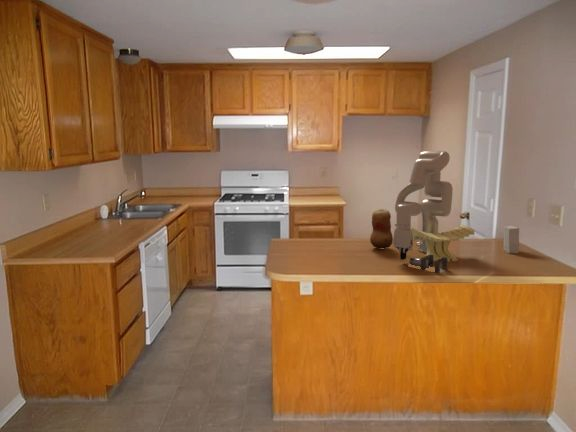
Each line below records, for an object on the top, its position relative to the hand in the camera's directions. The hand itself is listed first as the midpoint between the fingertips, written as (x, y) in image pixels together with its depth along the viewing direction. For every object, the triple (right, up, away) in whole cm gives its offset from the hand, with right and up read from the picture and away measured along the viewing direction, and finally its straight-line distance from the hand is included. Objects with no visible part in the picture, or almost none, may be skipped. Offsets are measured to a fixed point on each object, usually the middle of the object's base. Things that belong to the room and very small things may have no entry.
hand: (403, 259), depth 252 cm
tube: (+7, -3, -7) cm, 10 cm away
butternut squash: (-5, +3, +33) cm, 33 cm away
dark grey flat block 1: (+10, -4, -10) cm, 15 cm away
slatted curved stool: (+24, -1, +8) cm, 25 cm away
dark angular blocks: (+16, -5, -16) cm, 23 cm away
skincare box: (+67, +3, +16) cm, 69 cm away
